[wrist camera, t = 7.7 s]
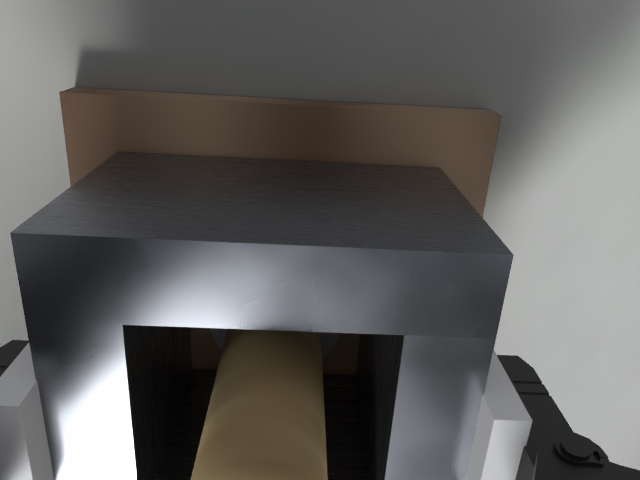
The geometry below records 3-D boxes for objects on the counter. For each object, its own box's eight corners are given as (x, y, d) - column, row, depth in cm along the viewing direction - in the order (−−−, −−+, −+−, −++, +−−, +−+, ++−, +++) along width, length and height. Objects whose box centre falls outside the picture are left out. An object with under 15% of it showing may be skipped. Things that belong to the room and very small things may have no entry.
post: (111, 422, 20) (-23, 708, 12) (73, 87, 16) (-187, 176, 7) (434, 431, 21) (518, 711, 13) (489, 109, 16) (682, 216, 8)
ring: (140, 411, 19) (69, 581, 13) (117, 151, 15) (10, 232, 10) (403, 419, 19) (442, 587, 14) (439, 167, 16) (513, 254, 10)
